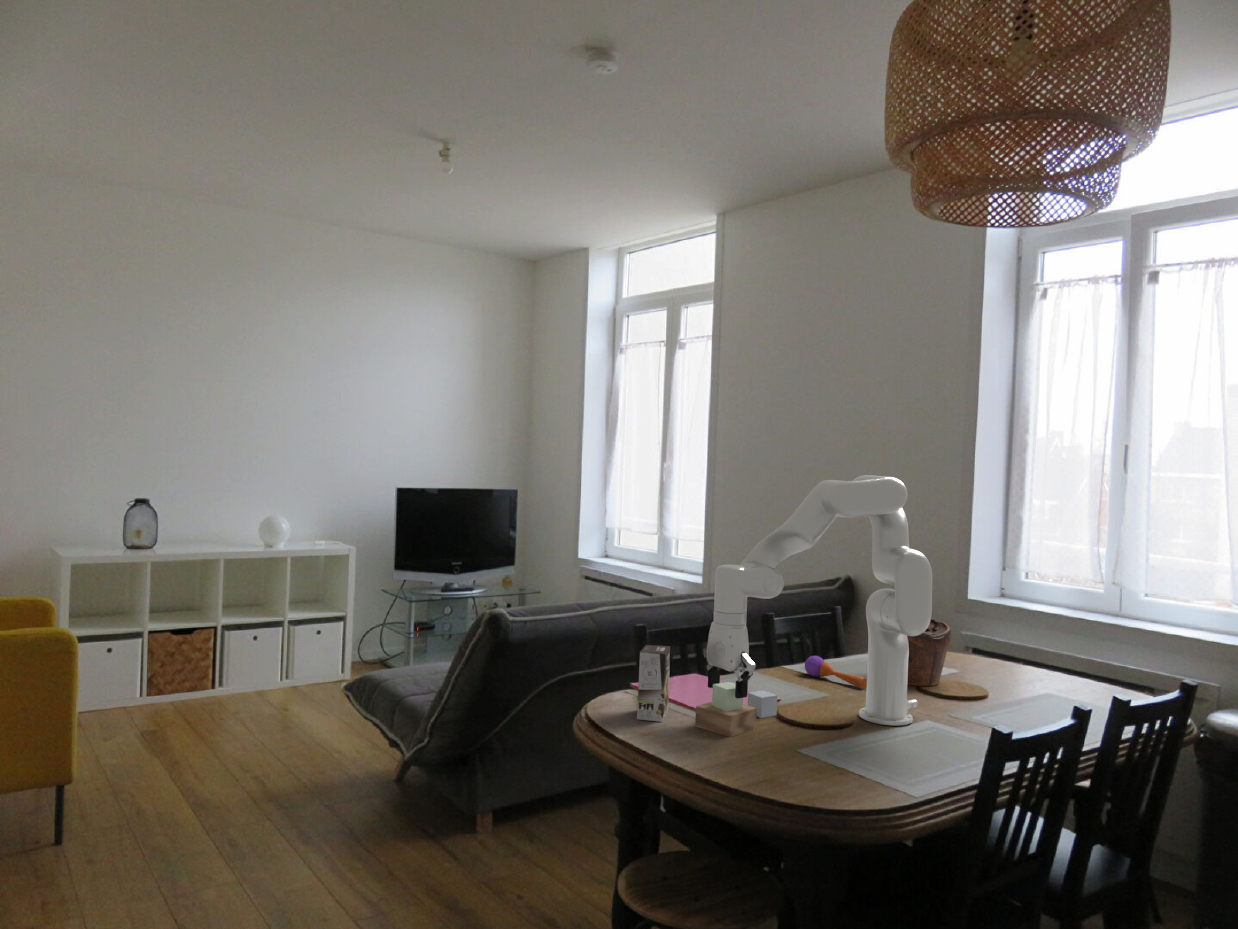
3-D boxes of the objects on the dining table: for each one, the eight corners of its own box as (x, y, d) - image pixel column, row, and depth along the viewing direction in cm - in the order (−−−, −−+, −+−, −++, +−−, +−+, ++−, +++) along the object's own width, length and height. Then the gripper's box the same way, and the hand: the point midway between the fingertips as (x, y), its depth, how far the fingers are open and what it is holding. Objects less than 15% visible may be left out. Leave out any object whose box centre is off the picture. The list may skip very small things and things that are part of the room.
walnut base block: (721, 719, 213) (721, 698, 213) (755, 729, 206) (756, 708, 206) (695, 727, 206) (696, 706, 206) (730, 738, 199) (731, 716, 199)
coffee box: (663, 722, 208) (665, 653, 208) (636, 720, 209) (638, 651, 209) (669, 711, 217) (671, 645, 216) (643, 709, 218) (645, 643, 218)
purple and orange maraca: (857, 677, 242) (800, 656, 258) (857, 697, 243) (800, 676, 259) (870, 670, 246) (813, 650, 261) (871, 690, 247) (813, 669, 262)
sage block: (728, 703, 209) (729, 681, 209) (742, 708, 205) (743, 687, 205) (712, 705, 207) (712, 684, 206) (726, 711, 202) (727, 689, 202)
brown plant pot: (957, 678, 260) (958, 617, 260) (941, 693, 243) (943, 628, 243) (895, 669, 270) (897, 610, 269) (876, 683, 253) (877, 620, 253)
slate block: (762, 710, 221) (763, 690, 221) (776, 715, 217) (777, 695, 217) (747, 713, 218) (748, 692, 218) (761, 718, 214) (761, 697, 214)
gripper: (693, 613, 211) (691, 685, 211) (742, 627, 196) (739, 704, 197) (718, 611, 215) (715, 681, 215) (767, 624, 200) (764, 699, 201)
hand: (727, 692), depth 206 cm, fingers open, 9 cm apart
